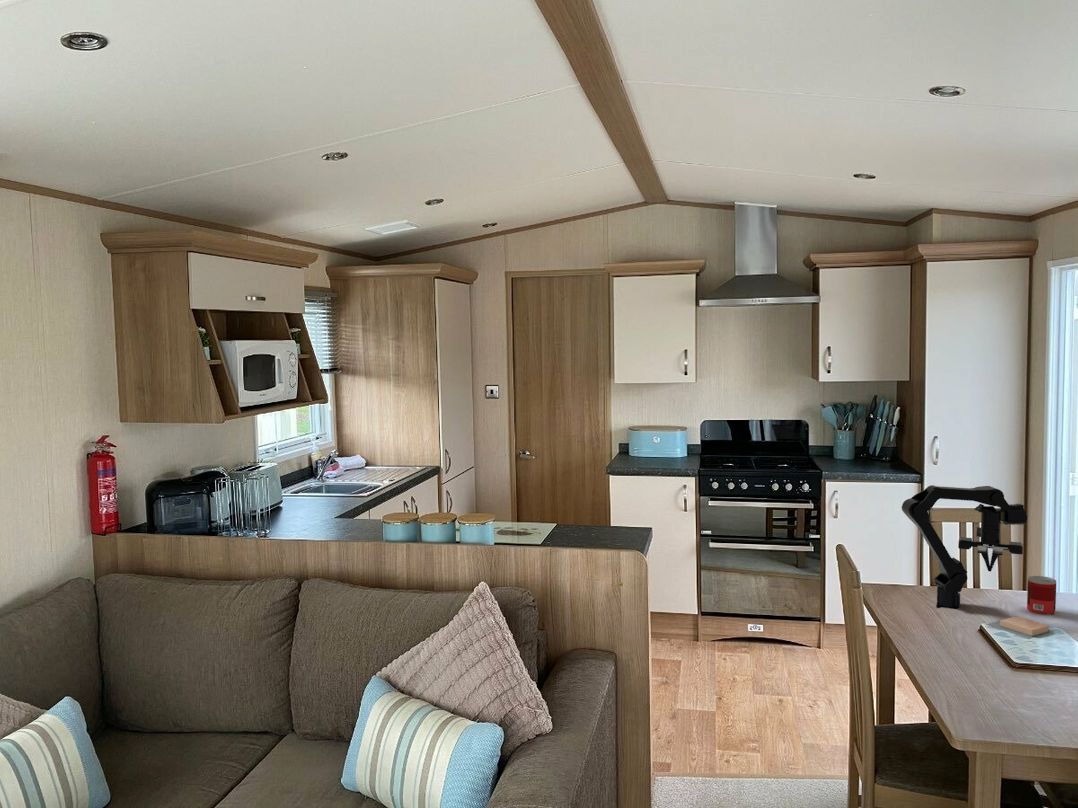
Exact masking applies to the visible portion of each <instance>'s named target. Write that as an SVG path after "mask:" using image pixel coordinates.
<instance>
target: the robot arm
mask: <svg viewBox="0 0 1078 808" xmlns="http://www.w3.org/2000/svg"><path fill="white" fill-rule="evenodd" d="M939 500H953V501H954V500H955V501H970V502H972V501H973V502H976V503H979V504H978V506H977V505H976V507H974V511H977V512H979V513H980V516H981V517H980V526H979V527H976V533H975V534H976V537H977V538H980V541H979V540H978V541H976V540H975V541H974V540H973V538H972V537H964V536H963V537H962V536H961V537H959V538H958V542H957V543H958V544H957V546H958V549H960V550H970V549H971V548H972V547H973V548H977V554H981V557H982V558H983V561H984V562H985V566H986V570H987V571H988V572H992V569H993V567H994V565H995V563H996V561H997V559H998V558H999V556H1003V553H1004V552H1003V551H1008V552H1009V553H1010V554H1012V555H1024V552H1023V551H1024V544H1023V543H1022V542H1019V541H1018V542H1017V541H1009V543H1001V541H1002V540H1001V539H1002V538H1001V536H1002V535H1001V528H1002V527H1001V525H1002V524H1001V523H1003V524H1004V525H1007V526H1008V525H1009V526H1011V525H1014V526H1015V525H1017V526H1018V525H1020V526H1021V525H1022V526H1023V525H1025V524H1026V523H1027V520H1028V515H1027V513H1026V510H1025V508H1024V507H1025V506H1024V504H1022V503H1015V504H1013V503H1012V504H1009V502H1007V500H1006V499H1005V494H1004V492H1003V491H1002V490H1001V489H998V488H996V487H993V486H990V485H983V486H982V485H981V486H975V487H971V488H970V487H969V488H968V487H955V486H954V487H953V486H952V487H951V486H937V485H934V484H932V485H928V486H927V487H926V488H925V489H923V490H921V491H919V492H918V493H916V494H914V495H913V496H912V497H911V498H907V499H905V500H904V501H903V502H902V505H901V511H902V512H903V513H904V515H906V517H907V518H908V519H909V520H910V521H911V522H912V523H913V524H914V525H915V526H916V528H917V529H918V531H919V532H920V534H921V535H922V538H924V540H925V542H926V544H927V545H928V547H929V549H930V551H931V552H932V554H933V555H934V557H935V559H936V560H937V563H938V569H939V574H937V576H936V577H934V578H933V581H934V584H935V585H936V586H937V587H936V603H935V604H936V606H935V607H936V608H937V609H941V608H943V609H951V610H959V608H960V607H961V591H962V589H963V587H964V585H965V584H966V583H967V580H968V575H967V573H968V571H967V570H966V569H965V567H964V564H963V563H962V561H960V560H959V559H957V558H955V557H954V556H953V557H952V555H950V553H949V551H948V549H946V546H945V545H944V543H943V541H942V540H941V537H939V535H938V534H937V532H936V530H935V529H934V527H933V525H932V524H931V519H930V518H931V517H930V514H929V511H930V510H931V509H932V508H933V507H934V506H935V505H936V503H937V501H939ZM986 505H987V506H986ZM995 507H998V508H995ZM989 549H991V550H992V553H991V557H990V558H989Z"/></svg>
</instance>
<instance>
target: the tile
mask: <svg viewBox="0 0 1078 808" xmlns="http://www.w3.org/2000/svg"><path fill="white" fill-rule="evenodd" d="M999 621H1000V626H1001V627H1003V628H1007V629H1010V630H1013V631H1016V632H1019V633H1022V634H1025V635H1028V636H1031V637H1032V636H1035V635H1039V634H1042V633H1046V632H1047V631H1048V630H1050V629H1049V625H1048V624H1045V623H1040V622H1038V621H1034V620H1032V619H1028V618H1025V617H1021V616H1018V615H1016V616H1012V617H1009V618H1004V619H1001V620H999Z"/></svg>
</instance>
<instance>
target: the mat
mask: <svg viewBox="0 0 1078 808" xmlns="http://www.w3.org/2000/svg"><path fill="white" fill-rule="evenodd" d="M985 625H986V626H989V627H991V628H995V629H997V630H1001V631H1003V632H1007V633H1010V634H1013V635H1016V636H1020V637H1023V638H1026V639H1032V638H1035V637H1040V636H1044V635H1046V634H1049V633H1053V632H1054V630H1051V629H1048V631H1047V632H1046V633H1042V634H1039V635H1035V636H1032V637H1031V636H1028V635H1025V634H1022V633H1019V632H1016V631H1013V630H1010V629H1007V628H1003V627H1001V626H1000V620H997V621H993V622H990V623H989V622H988V623H986V624H985Z"/></svg>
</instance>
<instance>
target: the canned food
mask: <svg viewBox="0 0 1078 808" xmlns="http://www.w3.org/2000/svg"><path fill="white" fill-rule="evenodd" d="M1026 588H1027V590H1026V591H1027V592H1026V593H1027V594H1026V595H1027V597H1026V598H1027V599H1026V608H1027V610H1028V611H1029V612H1031V613H1034V614H1038V615H1039V614H1040V615H1051V616H1054V615H1055V614H1056V605H1057V580H1056V579H1055V578H1053V577H1049V576H1044V575H1031V576H1028V578H1027V587H1026Z"/></svg>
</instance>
